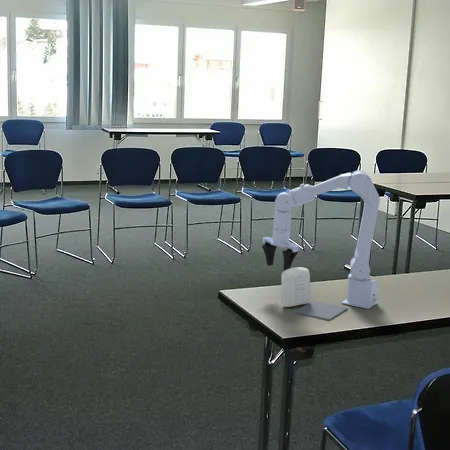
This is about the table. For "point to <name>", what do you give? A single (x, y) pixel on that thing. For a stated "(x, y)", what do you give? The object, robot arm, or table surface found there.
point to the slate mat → (321, 310)
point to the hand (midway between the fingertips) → (278, 267)
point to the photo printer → (295, 286)
